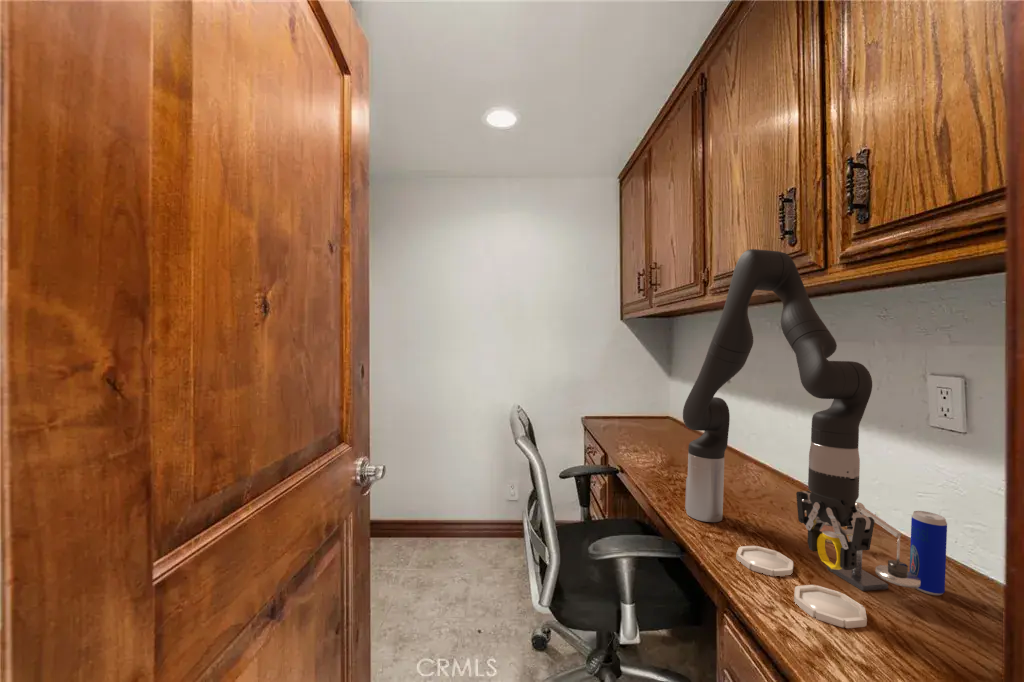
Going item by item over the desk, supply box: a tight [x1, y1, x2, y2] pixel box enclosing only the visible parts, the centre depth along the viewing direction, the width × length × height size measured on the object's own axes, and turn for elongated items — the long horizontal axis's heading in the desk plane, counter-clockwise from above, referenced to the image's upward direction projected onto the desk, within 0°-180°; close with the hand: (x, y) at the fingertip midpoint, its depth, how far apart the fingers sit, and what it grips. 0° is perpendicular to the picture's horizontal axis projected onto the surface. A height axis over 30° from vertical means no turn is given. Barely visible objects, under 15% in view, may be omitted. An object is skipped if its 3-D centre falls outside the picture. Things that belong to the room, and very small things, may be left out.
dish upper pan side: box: [735, 545, 794, 577], centre depth 95 cm, size 11×11×1 cm
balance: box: [824, 501, 921, 592], centre depth 90 cm, size 22×6×18 cm, turn 10°
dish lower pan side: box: [793, 584, 868, 629], centre depth 79 cm, size 11×11×1 cm
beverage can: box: [909, 510, 948, 597], centre depth 87 cm, size 5×5×15 cm
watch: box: [817, 531, 842, 570], centre depth 79 cm, size 6×3×6 cm, turn 176°
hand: (830, 559), depth 79 cm, fingers closed on watch, 6 cm apart
